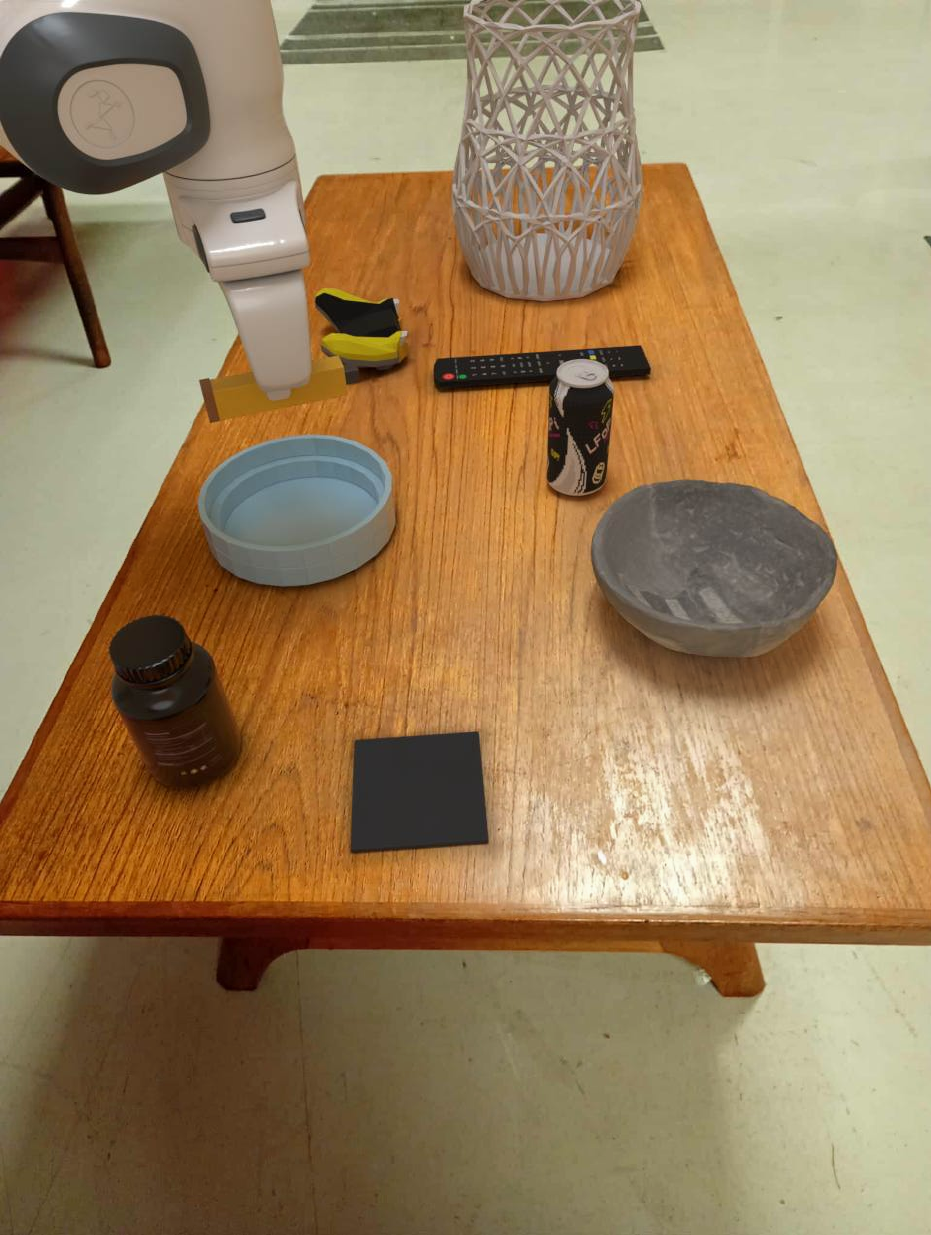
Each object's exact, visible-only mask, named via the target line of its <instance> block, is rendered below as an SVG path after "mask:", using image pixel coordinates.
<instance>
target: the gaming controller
mask: <svg viewBox="0 0 931 1235" xmlns="http://www.w3.org/2000/svg"><path fill="white" fill-rule="evenodd" d="M314 307H315V309H317V311H318V312H319V313H320V314H321V315H322V316H323V317H324V318H325V319H326V321H327V322H328V323H329V324H330V325H331V326H332V327H333V328H334V329H335V331H336V332H337V333H336V332H330V333H329V334H327V335H326V336H324V337H323V338H321V339H320V349H321V352H322V353H323V354H324V355H325V356H327V357H333V356H339V358H340V360H341V362H342V364H343V365H347V364H352V363H355V364H356V366H357V368H358V369H365V368H366V369H367V368H375V369H377V370H380V371H386V370H390V369H393V367H394V366H395V365H397V364H400V363H401V362H402V361H403V360H404V359H405V358H406V357H407V356H409V354H410V353H409V344H408V343H409V341H408V340H407V336H408V330H403V324H402V317H401V316H400V315H399V314H398V313H399V307H400V300H399V298H393V297H387V298H383V299H381V300H379V301H376V302H375V301H374V302H373V301H370V300H367V299H365V298H362V297H358V296H356V295H354V294H351V293H349V292H346V291H344V290H341V289H339V288H336V287H335V288H334V287H323V288H321V289H320V290H319V291H317V293H316V294H315V296H314Z"/></svg>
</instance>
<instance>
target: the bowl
mask: <svg viewBox="0 0 931 1235" xmlns="http://www.w3.org/2000/svg"><path fill="white" fill-rule="evenodd" d="M590 560H591V567H592V572H593V574H594V577H595V580H596V583H597V585H598V587H599V589H600V590H601V592H602V594H603V595H604V597H605V598H606V600H608V602H609V603H610V605H611V606H612V607H613V609H615V611H616V612H617V613H618V614H619V615H620V616H621V617H622V618H623V619H624V621H626V622H628V624H630V625H632V626H633V627H634V628H635V629H637V630H638V631H639V632H641V633H642V634H643V635H644V636H645V637H647V638H649V639H650V640H652V641H653V642H655V643H656V644H657V645H660V646H663V647H664V648H666V649H669V650H672V651H675V652H680V653H685V654H688V655H696V656H701V657H708V658H709V657H710V658H740V659H741V658H751V657H758V656H762V655H764V654H766V653H768V652H770V651H772V650H774V649H776V648H778V647H779V646H780V645H782V644H783V643H785V641H787V640H788V639H789V638H791V637H792V636H793V635H795V634H796V633H797V632H799V631H800V630H801V629H802V628H803V627H805V625H806V624H807V623H808V622H809V621H810V620H811V619H812V618H813V616H814V614H815V613H816V611H817V610H818V607H819V606H820V604H821V603H822V602H823V601H824V599H826V597H827V595H828V594H829V593H830V591H831V589H832V588H833V585H834V583H835V578H836V574H837V567H838V554H837V550H836V547H835V545H834V542H833V540H832V539H831V537H830V536H829V533H827V532H826V530H824V529H823V528H822V527H821V525H820V524H819V523H817V522H815V521H814V520H812V519H810V518H809V517H807V516H806V515H805V514H804V513H803V512H801V511H800V510H799V509H798V508H797V507H796V506H795V505H792V504H790V503H789V502H787V501H785V500H784V499H781V498H779V497H776V496H774V495H770V494H769V493H768V492H767V491H765V490H763V489H761V488H759V487H756V486H752V485H749V484H748V485H747V484H741V483H735V482H717V481H708V480H703V479H689V478H684V479H675V480H668V481H656V482H653V483H651V484H642V485H638V486H636V487H635V488H633V489H630V490H629V491H628V492H626V493H624V494H623V495H621V496H620V497H618V498H617V499H616V500H615V501H614V502H612V503H611V504H610V506H609V507H608V508H607V509H606V510H605V512H604V513H603V515H602V516H601V518H600V520H599V521H598V522H597V524H596V527H595V529H594V531H593V535H592V538H591V546H590Z"/></svg>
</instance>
